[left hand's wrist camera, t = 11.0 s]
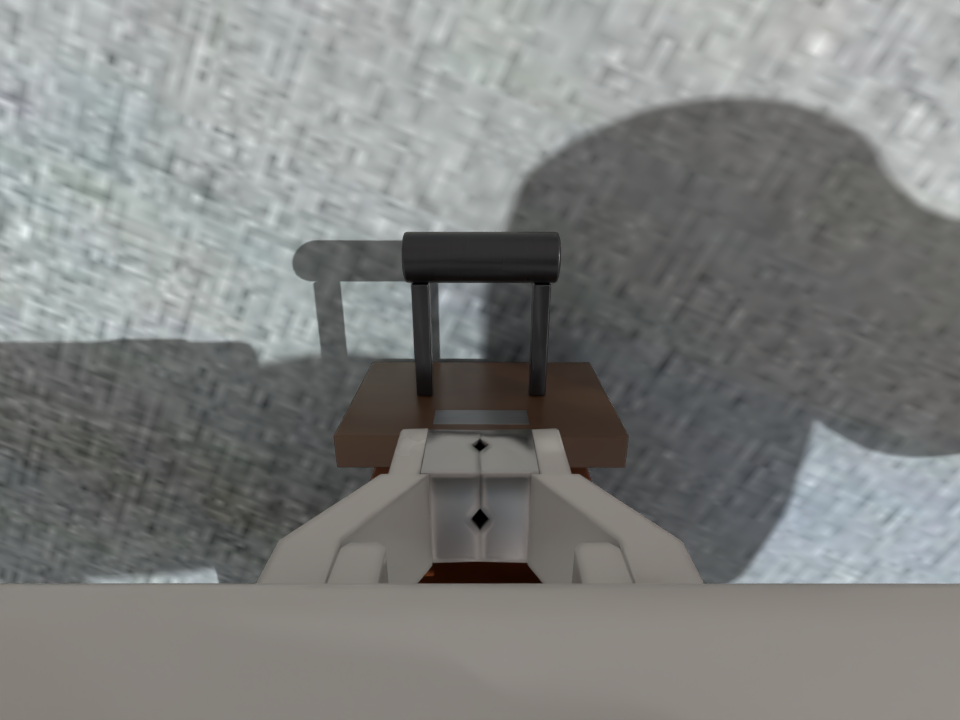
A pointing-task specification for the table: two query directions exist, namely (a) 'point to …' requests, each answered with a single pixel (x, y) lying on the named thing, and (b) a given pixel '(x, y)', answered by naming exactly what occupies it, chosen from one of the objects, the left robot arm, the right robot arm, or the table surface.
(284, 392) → the table surface
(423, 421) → the drawer
